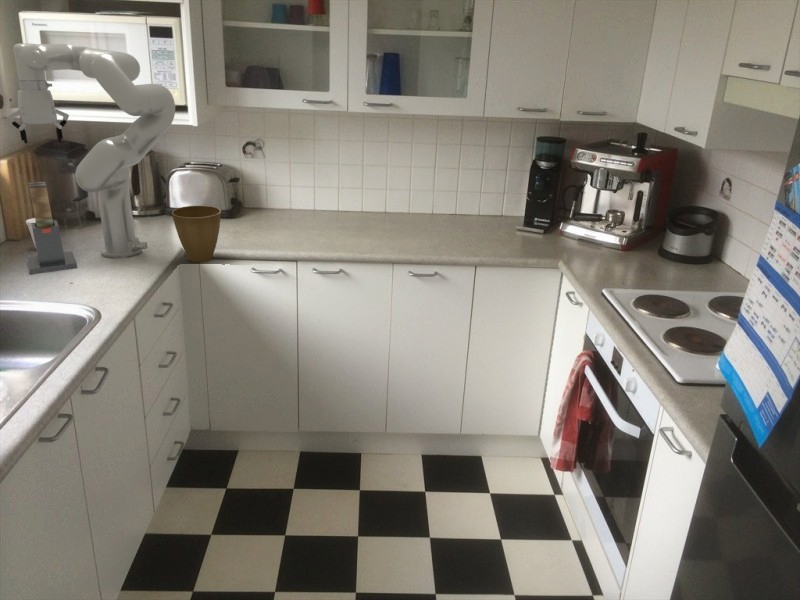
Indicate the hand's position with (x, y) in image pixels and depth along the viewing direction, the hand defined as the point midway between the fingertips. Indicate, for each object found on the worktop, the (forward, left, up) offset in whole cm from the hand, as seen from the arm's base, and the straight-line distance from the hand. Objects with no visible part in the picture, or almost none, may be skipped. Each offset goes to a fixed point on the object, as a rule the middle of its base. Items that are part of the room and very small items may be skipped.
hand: (42, 142), depth 210 cm
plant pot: (-51, +6, -35) cm, 62 cm away
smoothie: (+5, +4, -35) cm, 35 cm away
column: (-8, +19, -27) cm, 34 cm away
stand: (-8, +19, -35) cm, 40 cm away
